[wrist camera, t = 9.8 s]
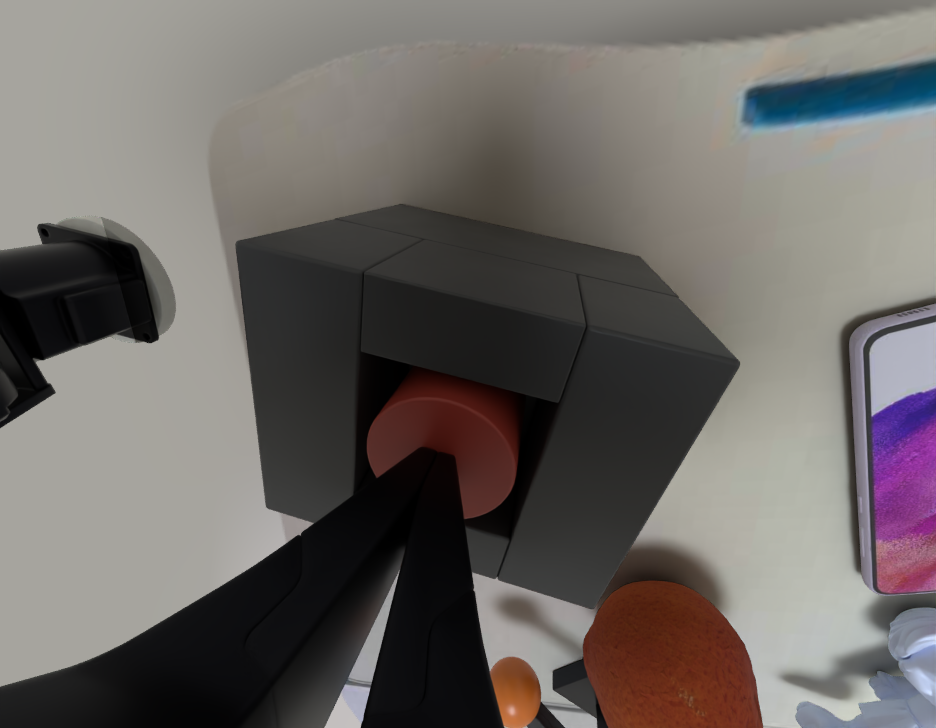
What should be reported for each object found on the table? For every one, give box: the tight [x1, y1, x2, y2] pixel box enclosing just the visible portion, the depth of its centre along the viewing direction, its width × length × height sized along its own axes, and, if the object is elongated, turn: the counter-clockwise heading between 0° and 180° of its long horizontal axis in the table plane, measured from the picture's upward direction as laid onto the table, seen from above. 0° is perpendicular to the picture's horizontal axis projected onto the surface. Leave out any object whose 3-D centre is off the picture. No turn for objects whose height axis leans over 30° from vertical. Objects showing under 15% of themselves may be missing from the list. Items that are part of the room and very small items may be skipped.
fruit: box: [583, 580, 763, 728], centre depth 20 cm, size 9×9×8 cm
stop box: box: [236, 204, 740, 609], centre depth 13 cm, size 10×8×10 cm
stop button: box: [367, 366, 526, 519], centre depth 11 cm, size 4×4×4 cm
